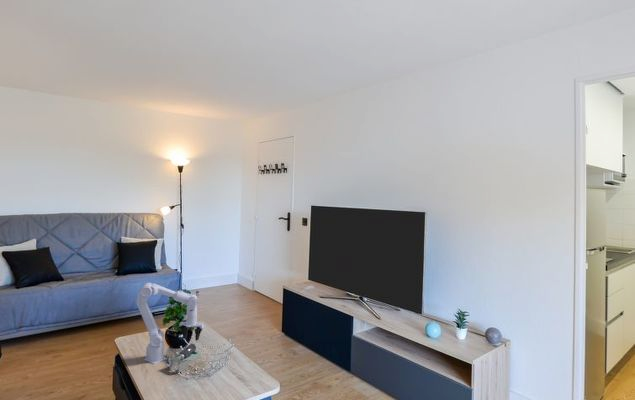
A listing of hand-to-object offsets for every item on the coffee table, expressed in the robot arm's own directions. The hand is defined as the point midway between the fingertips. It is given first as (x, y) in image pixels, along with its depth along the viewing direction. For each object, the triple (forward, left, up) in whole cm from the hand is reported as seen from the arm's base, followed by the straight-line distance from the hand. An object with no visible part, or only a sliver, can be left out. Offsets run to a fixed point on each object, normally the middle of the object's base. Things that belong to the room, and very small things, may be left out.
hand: (191, 339), depth 206 cm
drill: (+1, -2, -8) cm, 9 cm away
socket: (+8, -14, -10) cm, 19 cm away
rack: (0, -5, -10) cm, 11 cm away
